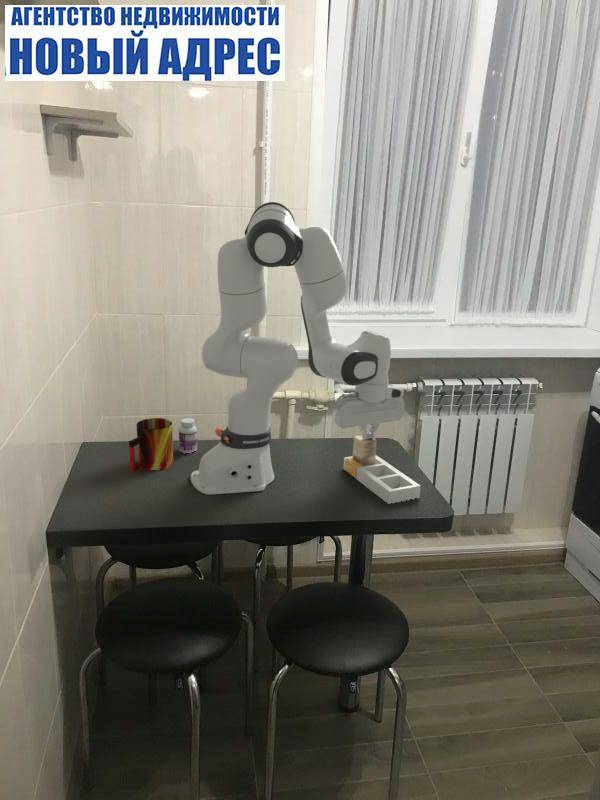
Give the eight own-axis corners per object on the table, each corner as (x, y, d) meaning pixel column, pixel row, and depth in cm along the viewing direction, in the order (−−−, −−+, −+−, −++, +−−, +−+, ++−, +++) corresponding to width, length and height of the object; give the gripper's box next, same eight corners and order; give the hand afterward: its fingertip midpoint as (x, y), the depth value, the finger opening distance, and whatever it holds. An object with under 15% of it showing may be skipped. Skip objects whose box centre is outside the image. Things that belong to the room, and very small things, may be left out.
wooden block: (359, 475, 178) (362, 442, 175) (351, 469, 182) (353, 436, 179) (374, 473, 180) (376, 440, 177) (365, 467, 184) (368, 434, 181)
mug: (129, 476, 172) (127, 434, 169) (143, 456, 185) (141, 417, 182) (165, 477, 172) (164, 435, 169) (176, 457, 185) (175, 418, 182)
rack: (387, 504, 161) (388, 490, 160) (342, 469, 182) (343, 456, 180) (419, 498, 165) (420, 484, 164) (372, 464, 186) (373, 452, 185)
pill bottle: (177, 448, 192) (176, 418, 189) (194, 446, 194) (193, 416, 191) (181, 455, 187) (181, 424, 184) (199, 452, 189) (199, 422, 186)
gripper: (343, 397, 166) (340, 447, 170) (409, 390, 174) (404, 437, 178) (331, 391, 171) (329, 439, 175) (396, 384, 180) (392, 430, 184)
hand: (368, 438), depth 177 cm, fingers closed
